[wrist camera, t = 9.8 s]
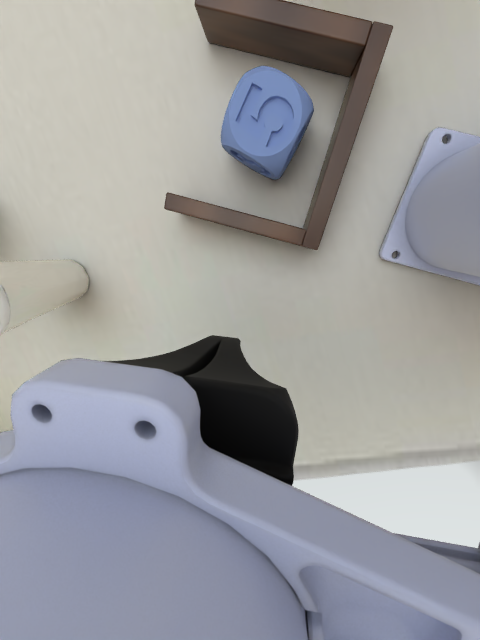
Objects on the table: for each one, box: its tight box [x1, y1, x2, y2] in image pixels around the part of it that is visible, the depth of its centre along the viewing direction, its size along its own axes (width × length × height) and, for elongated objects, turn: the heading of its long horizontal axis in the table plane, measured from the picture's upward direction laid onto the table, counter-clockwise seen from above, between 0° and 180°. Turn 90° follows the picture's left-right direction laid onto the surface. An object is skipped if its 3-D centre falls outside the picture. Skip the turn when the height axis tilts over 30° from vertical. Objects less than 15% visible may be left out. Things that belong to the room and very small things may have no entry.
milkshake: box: [0, 259, 89, 335], centre depth 18 cm, size 5×5×10 cm
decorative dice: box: [221, 66, 314, 179], centre depth 16 cm, size 4×4×4 cm
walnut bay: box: [164, 0, 393, 250], centre depth 17 cm, size 10×11×3 cm
